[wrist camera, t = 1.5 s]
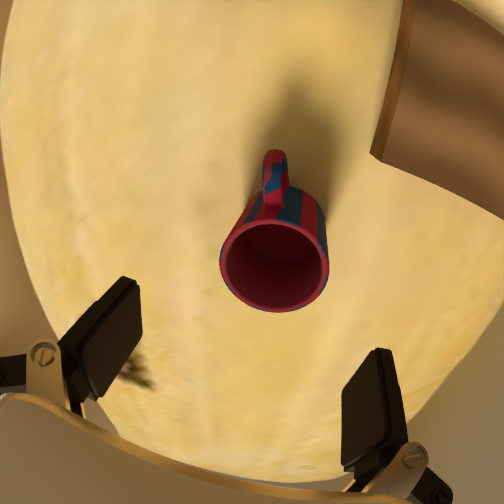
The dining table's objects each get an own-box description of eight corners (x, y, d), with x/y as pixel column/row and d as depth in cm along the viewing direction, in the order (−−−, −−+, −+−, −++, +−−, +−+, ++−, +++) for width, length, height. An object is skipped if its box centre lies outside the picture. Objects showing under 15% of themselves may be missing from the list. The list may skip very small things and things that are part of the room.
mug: (241, 255, 25) (219, 304, 19) (247, 139, 20) (220, 153, 14) (317, 266, 24) (317, 319, 18) (336, 150, 19) (349, 168, 13)
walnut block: (401, 0, 12) (417, -18, 8) (527, 80, 11) (553, 81, 7) (368, 152, 19) (380, 161, 15) (494, 210, 18) (517, 228, 14)
